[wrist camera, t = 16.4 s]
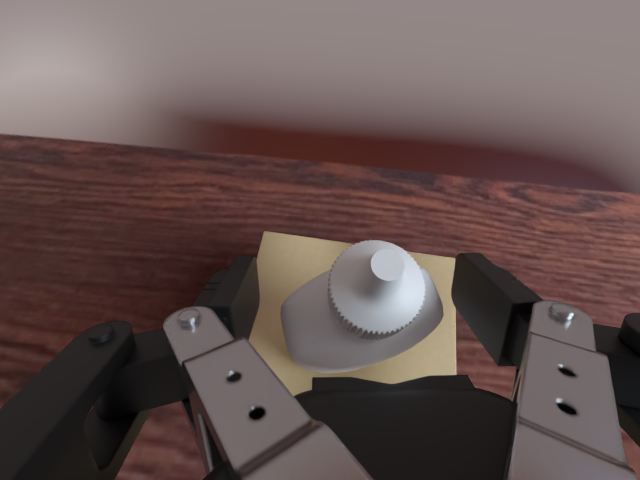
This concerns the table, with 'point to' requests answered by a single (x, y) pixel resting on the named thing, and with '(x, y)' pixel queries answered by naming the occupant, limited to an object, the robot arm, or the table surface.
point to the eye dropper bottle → (361, 310)
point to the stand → (314, 259)
